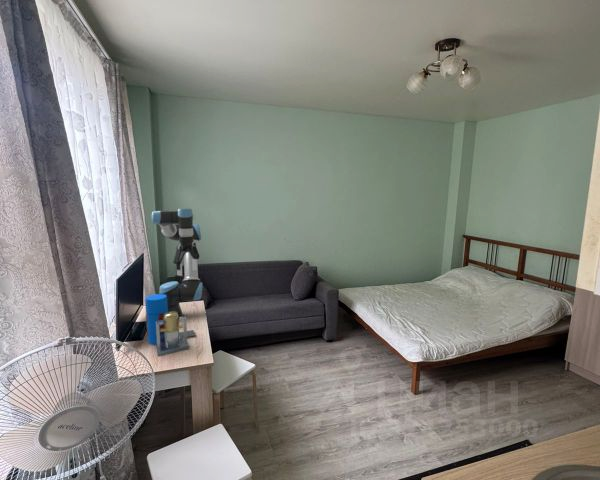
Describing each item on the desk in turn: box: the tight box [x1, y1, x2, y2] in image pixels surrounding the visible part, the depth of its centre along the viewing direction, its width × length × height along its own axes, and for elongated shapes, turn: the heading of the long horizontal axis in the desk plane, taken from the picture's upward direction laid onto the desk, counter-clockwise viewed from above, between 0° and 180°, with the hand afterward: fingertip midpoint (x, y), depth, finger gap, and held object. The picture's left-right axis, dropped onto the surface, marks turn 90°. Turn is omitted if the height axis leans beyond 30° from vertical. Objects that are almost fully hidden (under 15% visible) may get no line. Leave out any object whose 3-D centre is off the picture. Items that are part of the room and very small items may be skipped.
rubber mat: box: [179, 329, 196, 339], centre depth 176 cm, size 8×8×1 cm
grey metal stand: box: [155, 316, 190, 357], centre depth 160 cm, size 11×15×16 cm
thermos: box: [145, 293, 168, 346], centre depth 168 cm, size 11×11×25 cm
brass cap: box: [160, 311, 183, 333], centre depth 159 cm, size 11×7×9 cm, turn 118°
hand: (187, 272), depth 174 cm, fingers open, 13 cm apart
